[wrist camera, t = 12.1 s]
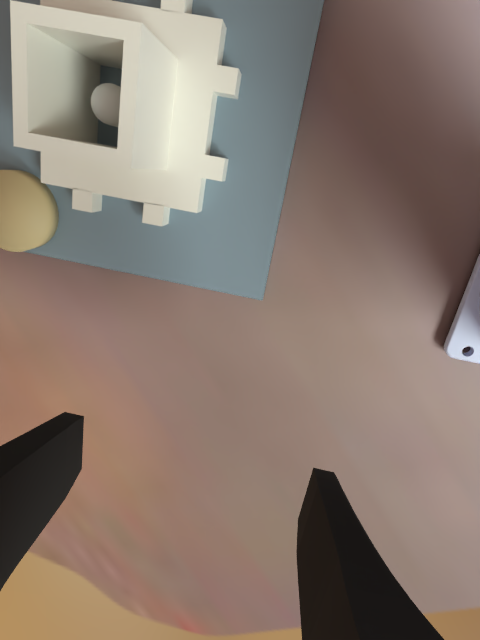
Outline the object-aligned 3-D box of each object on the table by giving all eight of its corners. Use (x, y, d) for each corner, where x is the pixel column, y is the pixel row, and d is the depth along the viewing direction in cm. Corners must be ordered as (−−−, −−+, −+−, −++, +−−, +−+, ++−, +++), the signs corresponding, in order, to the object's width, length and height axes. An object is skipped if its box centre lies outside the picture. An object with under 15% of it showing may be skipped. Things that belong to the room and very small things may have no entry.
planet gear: (252, 5, 15) (235, -68, 11) (217, 233, 18) (192, 253, 14) (34, -31, 16) (-74, -116, 11) (35, 197, 19) (-49, 205, 14)
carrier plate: (336, -58, 15) (349, -127, 12) (263, 295, 20) (257, 321, 17) (-20, -114, 16) (-107, -194, 12) (-5, 241, 21) (-64, 254, 17)
